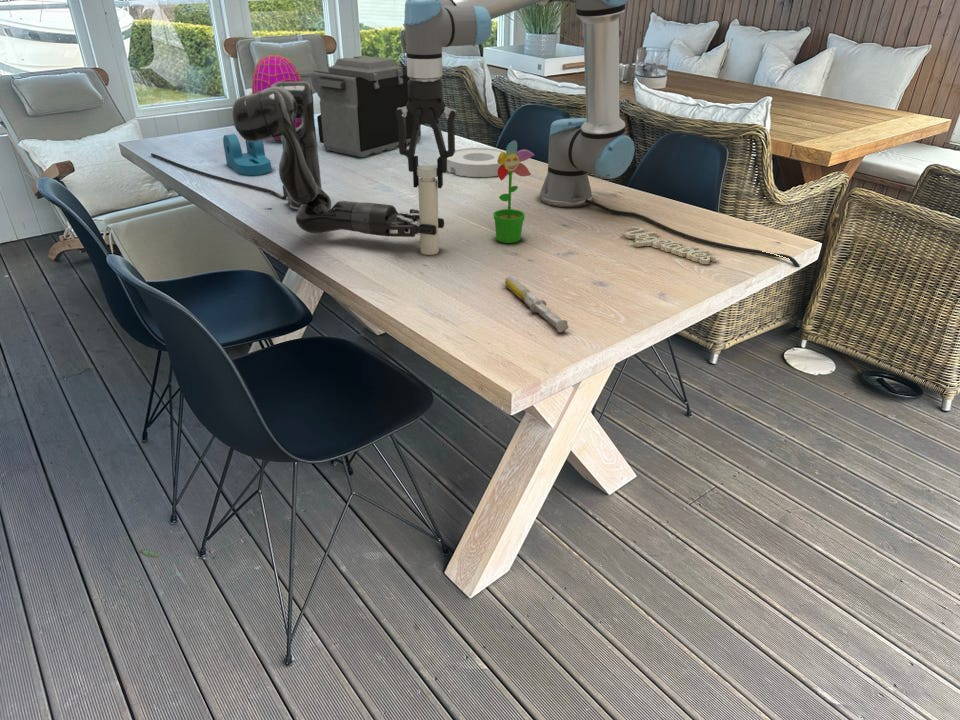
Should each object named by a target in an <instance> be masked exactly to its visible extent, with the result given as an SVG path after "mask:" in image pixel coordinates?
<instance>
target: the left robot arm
mask: <svg viewBox="0 0 960 720" xmlns="http://www.w3.org/2000/svg"><path fill="white" fill-rule="evenodd" d="M314 107H315V106H314V94H313V89H312V85H311V84H310V83H309V82H307V81H302V82H277V83H274V84H273V85H272V86H271V87H269V88H266V89H264V90H262V91H261V92H259V93H255V94H252V93H251V94H247V95H243V96H240V97H238V98H236V99H235V100H234V102H233V104H232V107H231V119H232V123H233V126H234V128H235V131H236V132H237V133H238V134H239V136H240V137H241V138H242V139H244V140H245V141H246V140H247V141H249V142H258V141H263V142H264V141H266V140H271V139H273V138H275V137H279V136H282V137H281V140H282V141H281V146H282V153H281V157H280V159H279V160H280V161H279V165H278V174H279V175H278V176H279V179H280V182H281V183H282V193H283V196H281V195H280V194H278V193H277V192H276V191H274V190H272V189H268V188H266V187H261V186H257V185H254V184H253V185H252V184H250V183H245V182H241V181H237V180H233V179H230V178H226V177H222V176H219V175H214V174H212V173H207V172H204V171H201V170H198V169H195V168H193V167H189V166H186V165H183V164H181V163H178V162H176V161H173V160H170V159H168V158H165V157H164V156H160V155H158V154H155V153H151V154H150V156H152V157H155V158H156V159H159V160H162V161H164V162H167V163H169V164H172V165H175V166H177V167H179V168H182V169H184V170H188V171H190V172H193V173H196V174H200V175H203V176H206V177H210V178H212V179H216V180H219V181H224V182H228V183H231V184H235V185H238V186H243V187H246V188H249V189H254V190H258V191H262V192H267V193H270V194H272V195H274V196H275V197H277V198H279V199H281V200H286V199H287V201H288V205H289V208H290V209H291V210H295V211H297V212H296V215H295V222H296V225H297V226H298V227H299V228H300V229H301V230H303V231H304V232H306V233H310V234H324V233H329V232H337V231H351V232H357V233H361V234H366V235H373V236H380V237H381V236H382V237H387V238H388V237H393V238H395V237H396V238H397V237H398V238H399V237H401V238H402V237H403V238H415V237H416V235H417V236H420V234H429V235H435V234H436V233H437V227H436V226H435V225H428V224H421V225H420V220H419V209H414V208H411V209H409V212H407V211H401V212H398V211H397V209H396V207H395V206H394V205H392V204H384V203H374V202H366V201H365V202H358V201H348V200H339V201H336V203H335V204H334V205H333V203H332V199H331V197H330V196H329V195H328V194H327V193H326V192H325V191H324V189H323V187H322V179H321V168H320V159H319V151H318V144H317V133H316V123H315V122H316V121H315V108H314ZM294 119H302V124H301V125H300V126H298V127H297V128H295V126H294V123H293V120H294ZM444 227H445V219H444V218H443V217H441V218H440V217H438V229H443V228H444Z"/></svg>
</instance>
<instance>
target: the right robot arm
mask: <svg viewBox="0 0 960 720" xmlns="http://www.w3.org/2000/svg"><path fill="white" fill-rule="evenodd" d="M553 2H554V3H557V2H565V3H566V2H568V3H575V10H576V11H575V12H576V17H577V18H578V19H579V20H580V21H581V22H582V31H583V35H582V36H583V54H584V55H583V59H584V60H583V61H584V63H583V64H584V65H583V66H584V89H585V117H573V118H571V117H570V118H562V119H556V120H554V121H553V122H552V123H551V125H550V129H549V130H550V131H549V134H548V137H549V138H548V156H547V158H548V159H547V173H546V176H545V178H544V181H543V184H542V187H541V189H540V192H539V200H540V202H542V203H543V204H546V205H549V206H553V207H558V208H559V207H560V208H580V207H584V206H588V205H592V206H595V207H597V208H599V209H602V210H603V211H606V212H609V213H612V214H617V215H623V216H630V217H635V218H637V219H642V220H644V221H646V222H649V223H651V224H652V225H654V226H656V227H658V228H661V229H663V230H665V231H667V232H669V233H672V234H675V235H678V236H680V237H683V238H686V239H689V240H691V241H695V242H699V243H702V244H706V245H709V246H714V247H718V248H719V247H720V248H724V249H729V250H734V251H739V252H745V253H752V254H758V255H762V256H767V257H771V258H780V259H786V258H789V259H790V260H789V262H791V263H792V264H793V265H794V267H795V268H800V267H801V266H800V264H799V262H798V261H797V260H796V259H795V258H794V257H792V256H791V255H788V254H784V253H777V252H776V253H775V252H773V253H774V254H777V255H780V256H783V257H786V258H783V257H779V256H776V255H774V254H770V253H771V252H770V253H766V252H767V251H766V252H762V251H763V250H761V249H755V248H747V247H741V246H736V245H730V244H726V243H721V242H716V241H712V240H708V239H704V238H700V237H697V236H693V235H691V234H687V233H685V232H682V231H679V230H677V229H674V228H672V227H669V226H667V225H665V224H662V223H660V222H658V221H655V220H654V219H651V218H650V217H648V216H645V215H643V214H640V213H636V212H630V211H623V210H616V209H612V208H609V207H607V206H605V205H603V204H600V203H597V202H595V201H592V199H593V193H592V188H591V184H590V179H589V174H592V175H595V176H596V177H598V178H605V179H610V180H611V179H617V178H618V177H620V176H622V175H623V174H624V173H625V172H626V171H627V170H628V168H629V167H630V166H631V163H632V162H633V159H634V156H635V150H636V149H635V148H636V147H635V143H634V141H633V139H632V138H631V137H630V136H628V135H626V122H625V121H624V120H623V119H622V118H621V116H620V17H621V16H622V15H623V14H624V13H625V11H626V3H628V2H629V0H405V2H404V21H403V23H404V32H405V51H406V66H407V76H408V77H409V78H410V79H409V80H408V103H407V105H406V106H405V107H402V108H401V107H399V108H398V109H396V111H395V114H396V116H397V119H398V130H399V146H398V149H399V150H398V151H399V155H401V156H405V157H406V159H407V166H408V172H410V173H412V181H413V182H412V183H413V188H418V179H420V177H418V176H417V166H418V165H419V155H416V150H417V144H418V142H417V140H418V135H419V131H420V126H422V125H429V126H431V129H432V131H433V136H434V139H435V142H436V147H437V150H438V153H439V154H438V155H439V156H438V158H437V159H436V165H437V174H438V176H437V184H438V189H443V188H442V187H443V185H444V174H446V173H447V172H448V171H447V158H448V157H452V156H453V155H454V153H455V150H456V137H455V136H456V134H455V131H456V129H455V119H456V116H457V113H458V110H457V109H456V108H453V109H452V108H449V107H447V106H446V103H445V101H444V87H443V82H444V81H443V80H442V77H443V48H448V47H464V46H466V47H467V46H472V47H474V46H477V45H484V44H485V43H487V42H488V41H489V39H490V37H491V35H492V30H493V29H492V25H493V22H492V20H494V19H497V18H500V17H503V16H505V15H507V14H510V13H513V12H515V11H518V10H520V9H524V8H526V7H529V6H532V5H535V4H537V5H539V6H545V5H547V4H549V3H553ZM407 111H408V112H409V113H410V115H411V116H412V117H413V119H414V124H413V130H412V135H411V140H410V143H409V144H407V141H406V118H405V117H406V116H407ZM443 114H445V119H447V123H446V124H447V125H446V127H447V146H446V144H445V140H444V136H443V133H442V128H441V123H440V120H439V119H440V118H441V116H442V115H443ZM407 145H408V146H407ZM446 147H447V148H446ZM786 260H787V259H786Z"/></svg>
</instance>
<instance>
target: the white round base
mask: <svg viewBox="0 0 960 720" xmlns="http://www.w3.org/2000/svg"><path fill="white" fill-rule="evenodd" d="M501 152H505V153H506V150H503V149H499V148H492V147H480V146H479V147H463V148H455V153H454V155H453V156H452V157H448V158H447V171H446V172H448V173H450V174H455V175H457V176H460V177H461V176H462V177H467V178H468V177H470V178H490V177H499V176H498V168H499V167H500V166H501V165H502V164H499V163H498V162H497V160H498V157H499V155H500V153H501ZM506 154H507V153H506ZM508 174H509V171H508Z"/></svg>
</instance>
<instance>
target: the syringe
mask: <svg viewBox="0 0 960 720" xmlns="http://www.w3.org/2000/svg"><path fill="white" fill-rule="evenodd" d="M504 285H505V287H506V288H507V289H508V290H510V292H512V293H513V294H514V295H515V296H516V297H517V298H519V299H520V301H522V302H523V303H524V304H525V305H526V306H527V307H528V308H529V311H530V313H533V314H535V313H537V314H539V315H540V316H541V317H542V318H544V320H546V321H547V322H548V323H549V324H550V325H551V326H552V327H553V328H555V329H556V331H557V333H558V334H561V333H563V332H565V331H566V330H568V329H569V325H568V324H569V323H568V321H567V320H566V319H562V318H561V317H560V316H559V315H558V314H557V313H555V311H552V310H551V309H550V308H548V307H547V302H546V301H545V300H544V299H541V298H539V297H538V296H537V295H536V294H534V293H533V292H532V291H530V290H529V289H528V288H527V287H526V286H524V285H523V284H522V283H521V282H520V281H519V280H518V279H517V278H516V277H515V276H513V275H510V276H507V277H505V281H504Z"/></svg>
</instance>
